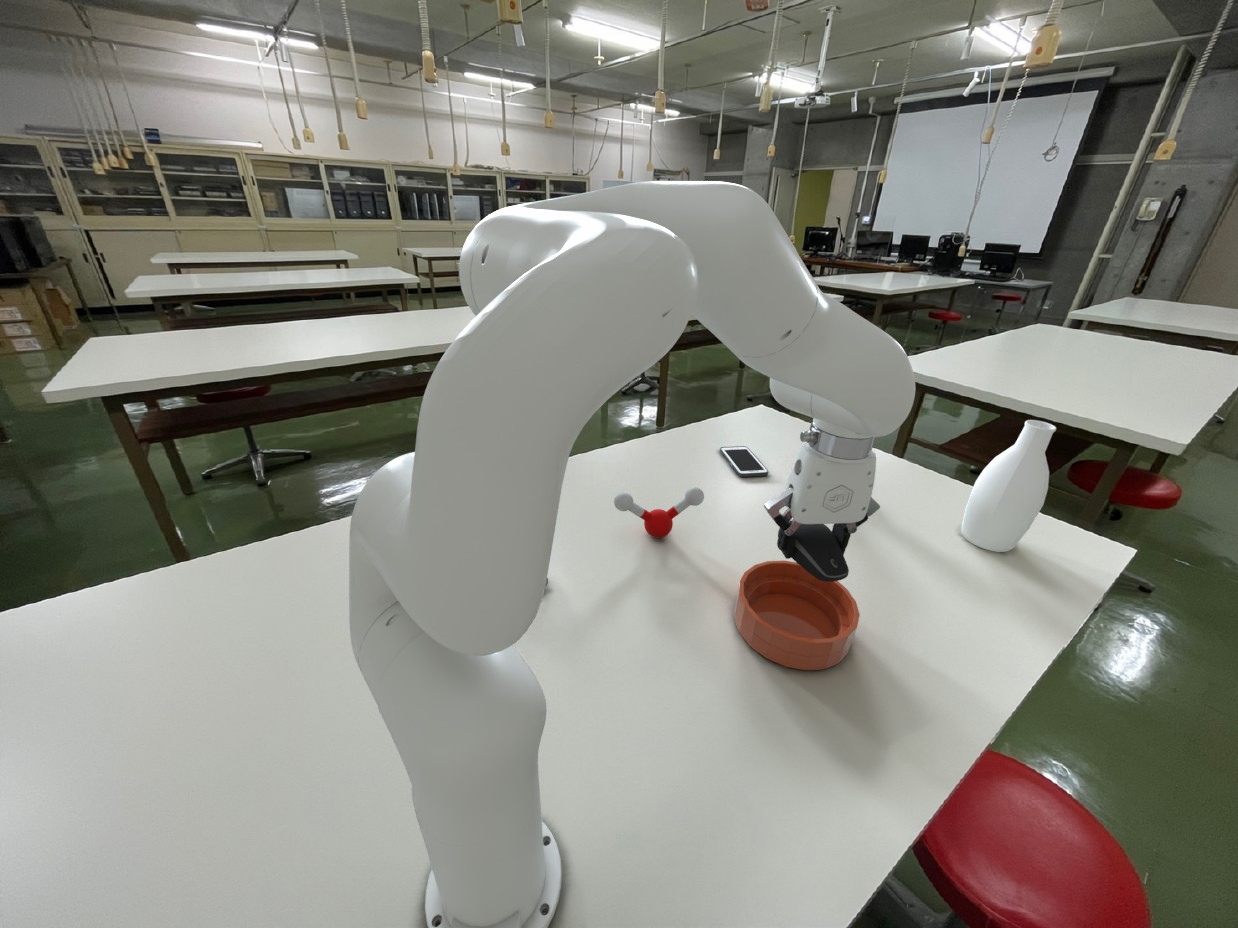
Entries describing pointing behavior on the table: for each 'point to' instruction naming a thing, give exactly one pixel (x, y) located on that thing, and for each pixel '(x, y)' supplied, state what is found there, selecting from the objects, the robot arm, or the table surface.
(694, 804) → the table surface
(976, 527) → the bottle
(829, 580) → the computer mouse
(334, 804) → the table surface
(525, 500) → the robot arm
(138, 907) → the table surface
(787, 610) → the bowl
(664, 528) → the molecular model
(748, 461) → the cell phone
